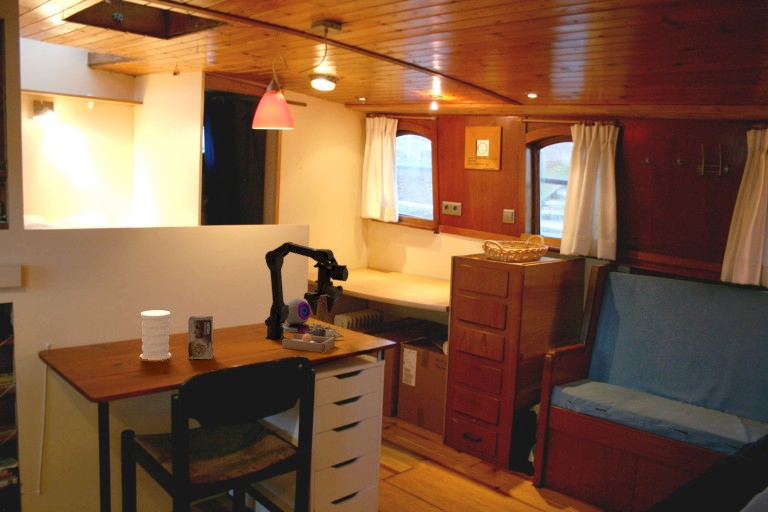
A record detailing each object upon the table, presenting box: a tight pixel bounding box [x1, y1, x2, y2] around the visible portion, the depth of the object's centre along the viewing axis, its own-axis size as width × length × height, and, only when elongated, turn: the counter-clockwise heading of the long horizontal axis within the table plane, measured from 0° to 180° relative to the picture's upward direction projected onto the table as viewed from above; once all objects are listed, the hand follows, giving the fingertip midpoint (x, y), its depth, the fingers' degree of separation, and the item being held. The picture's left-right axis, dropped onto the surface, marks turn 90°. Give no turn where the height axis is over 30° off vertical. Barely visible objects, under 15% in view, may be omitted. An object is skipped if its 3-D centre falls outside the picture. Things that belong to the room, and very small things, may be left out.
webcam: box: [283, 297, 311, 333], centre depth 313 cm, size 13×13×15 cm
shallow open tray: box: [281, 333, 336, 353], centre depth 282 cm, size 19×12×4 cm, turn 72°
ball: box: [302, 333, 311, 342], centre depth 283 cm, size 4×4×4 cm
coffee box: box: [187, 315, 214, 360], centre depth 258 cm, size 9×6×16 cm
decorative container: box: [139, 309, 172, 360], centre depth 255 cm, size 12×12×18 cm
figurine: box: [303, 322, 345, 339], centre depth 300 cm, size 20×6×17 cm
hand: (322, 313), depth 285 cm, fingers open, 9 cm apart
